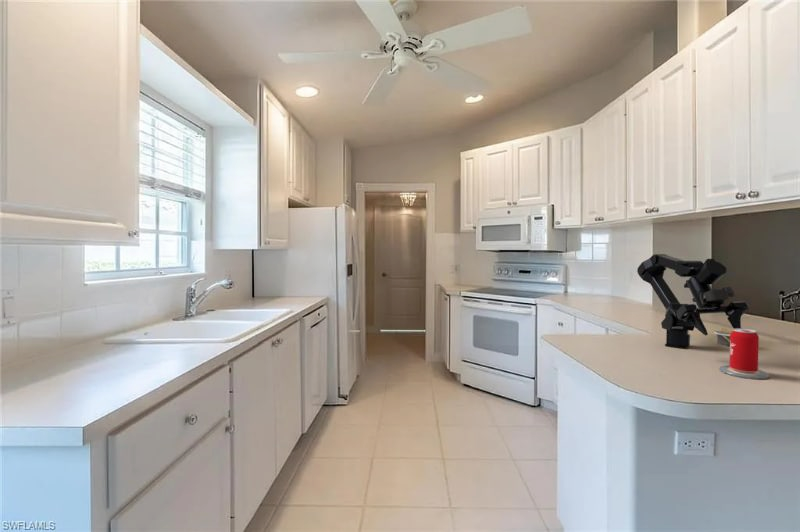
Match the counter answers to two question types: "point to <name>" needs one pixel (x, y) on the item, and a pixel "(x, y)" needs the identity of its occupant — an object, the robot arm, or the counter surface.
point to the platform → (723, 337)
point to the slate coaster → (755, 375)
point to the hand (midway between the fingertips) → (723, 334)
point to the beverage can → (744, 350)
